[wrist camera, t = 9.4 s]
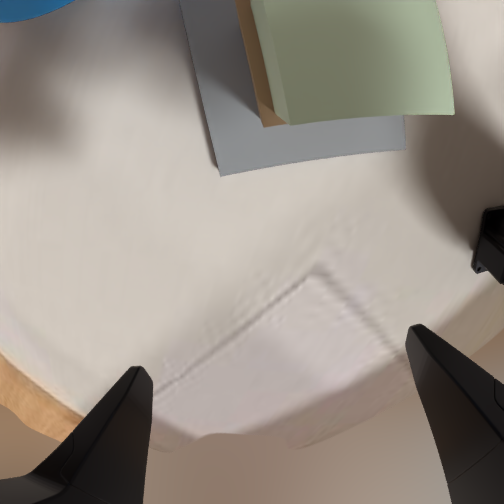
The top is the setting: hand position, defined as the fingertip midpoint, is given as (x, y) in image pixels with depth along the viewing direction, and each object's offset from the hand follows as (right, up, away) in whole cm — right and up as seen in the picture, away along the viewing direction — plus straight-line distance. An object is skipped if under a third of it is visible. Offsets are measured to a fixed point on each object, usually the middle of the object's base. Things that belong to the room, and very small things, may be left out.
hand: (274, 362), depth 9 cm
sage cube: (+2, +12, +1) cm, 12 cm away
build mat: (+2, +15, +6) cm, 16 cm away
